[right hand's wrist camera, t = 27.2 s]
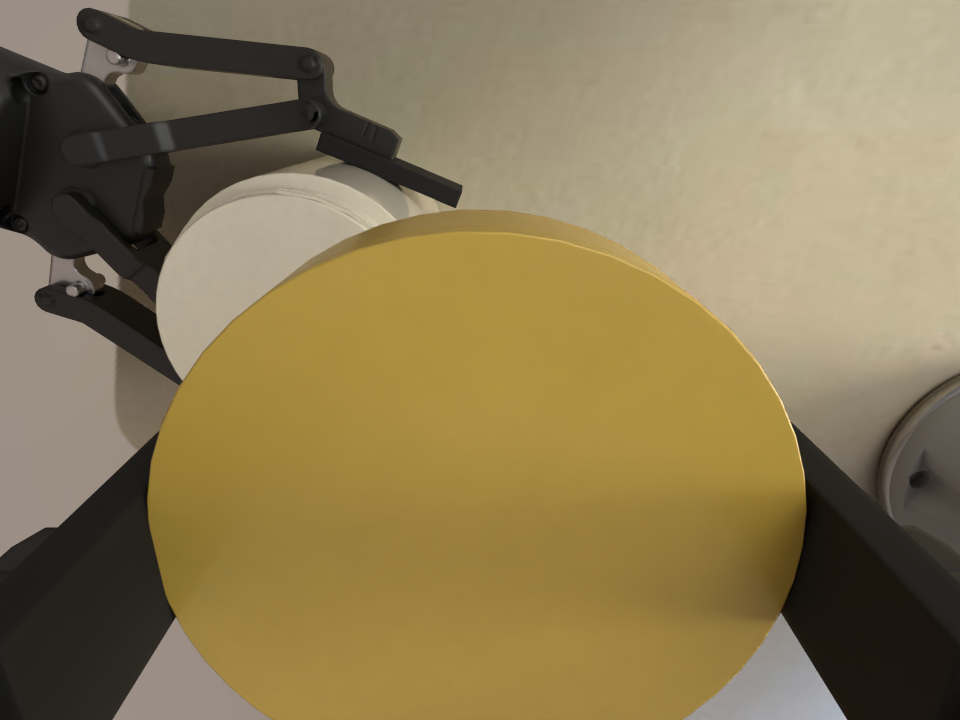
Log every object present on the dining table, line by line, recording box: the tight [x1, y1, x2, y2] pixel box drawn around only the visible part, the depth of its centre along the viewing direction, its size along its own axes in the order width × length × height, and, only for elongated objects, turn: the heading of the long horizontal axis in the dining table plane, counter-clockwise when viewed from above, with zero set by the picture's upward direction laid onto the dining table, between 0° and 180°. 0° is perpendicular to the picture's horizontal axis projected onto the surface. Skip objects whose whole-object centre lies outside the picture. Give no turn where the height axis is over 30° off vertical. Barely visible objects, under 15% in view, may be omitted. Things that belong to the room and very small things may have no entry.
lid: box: [147, 210, 807, 720], centre depth 11 cm, size 11×11×2 cm
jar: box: [156, 155, 440, 381], centre depth 29 cm, size 10×10×16 cm
